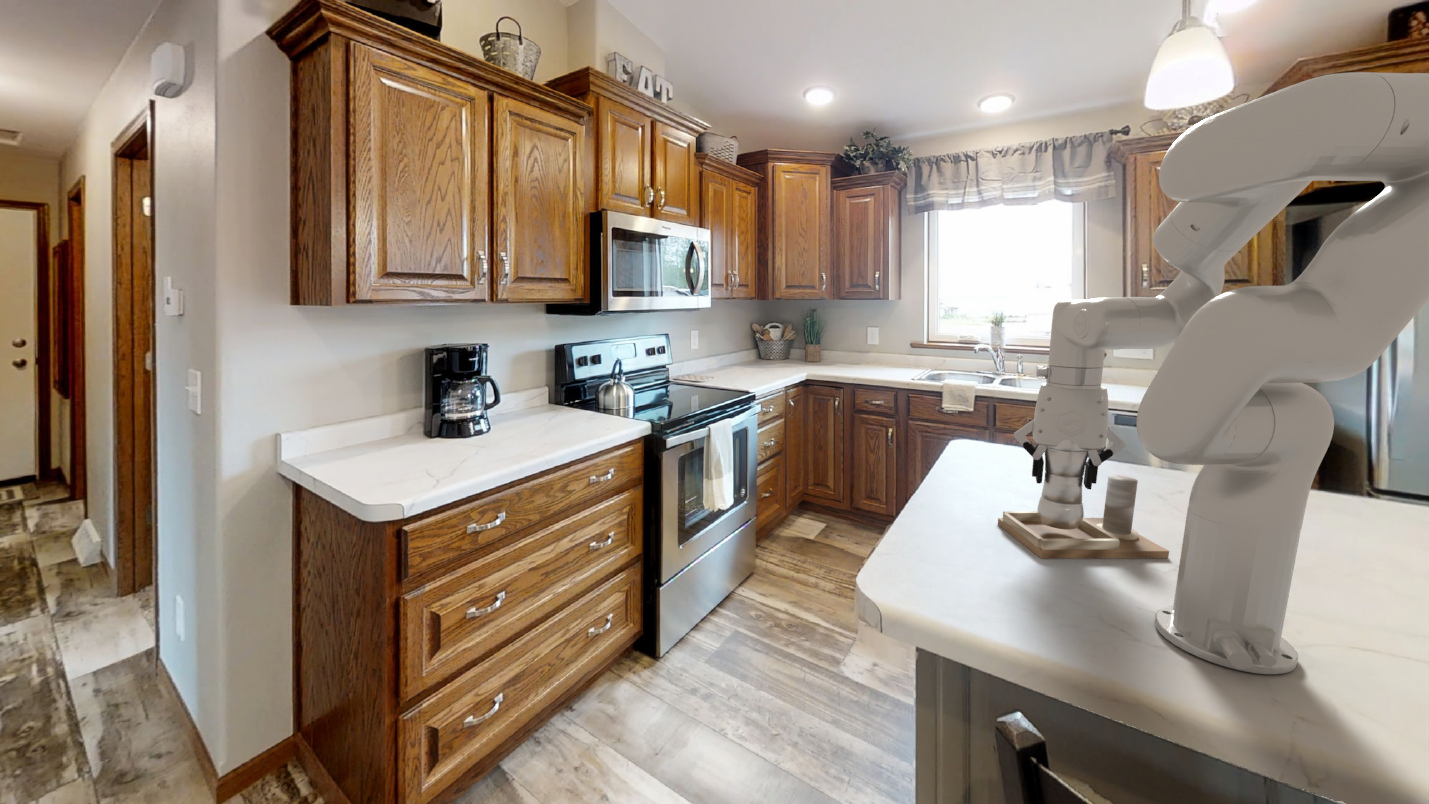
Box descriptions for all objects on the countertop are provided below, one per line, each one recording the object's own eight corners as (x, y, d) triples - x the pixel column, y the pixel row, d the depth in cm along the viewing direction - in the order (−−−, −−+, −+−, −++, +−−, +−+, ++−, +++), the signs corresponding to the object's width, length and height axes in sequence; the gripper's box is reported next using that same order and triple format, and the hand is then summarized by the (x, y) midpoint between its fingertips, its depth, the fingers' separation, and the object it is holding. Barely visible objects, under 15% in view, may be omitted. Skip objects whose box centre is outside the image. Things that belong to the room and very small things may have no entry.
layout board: (1041, 558, 90) (1047, 492, 88) (997, 524, 103) (1002, 467, 101) (1168, 558, 89) (1177, 492, 88) (1107, 524, 103) (1114, 466, 101)
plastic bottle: (1089, 535, 92) (1103, 414, 89) (1043, 532, 93) (1055, 413, 90) (1072, 521, 98) (1085, 407, 95) (1030, 518, 100) (1041, 406, 96)
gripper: (1013, 377, 92) (1004, 483, 95) (1145, 383, 84) (1130, 498, 88) (1012, 372, 99) (1004, 471, 102) (1134, 377, 91) (1121, 484, 94)
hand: (1062, 483), depth 95 cm, fingers closed on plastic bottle, 6 cm apart
